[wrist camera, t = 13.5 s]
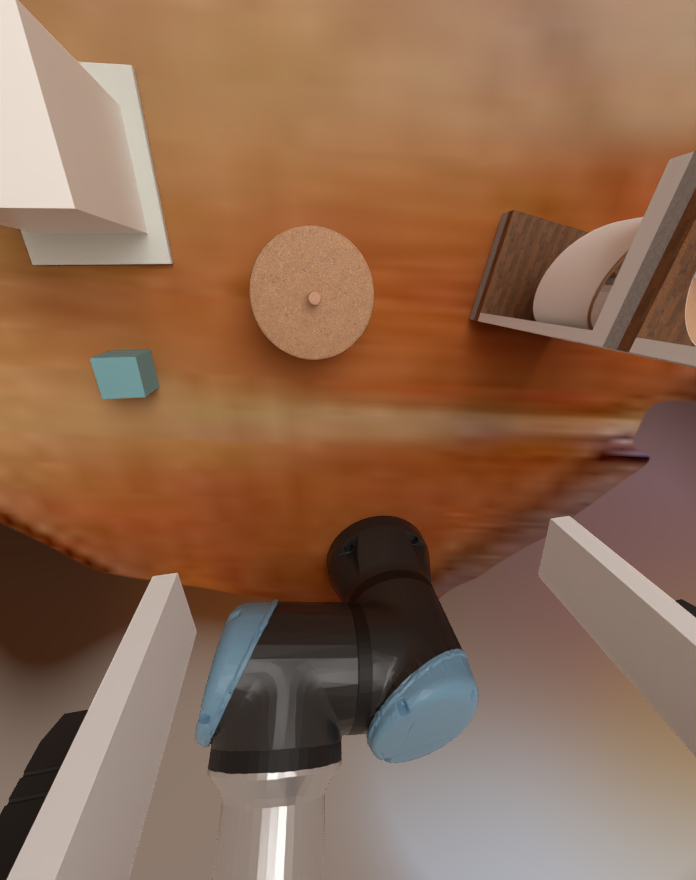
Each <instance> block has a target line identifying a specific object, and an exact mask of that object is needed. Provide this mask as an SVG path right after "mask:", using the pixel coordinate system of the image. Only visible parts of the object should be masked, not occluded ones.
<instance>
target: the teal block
mask: <svg viewBox="0 0 696 880" xmlns="http://www.w3.org/2000/svg"><path fill="white" fill-rule="evenodd" d="M90 360H91V364H92V367H93V370H94V373H95V377H96V380H97V383H98V386H99V390H100V393H101V396H102V399H115V398H139V397H147V396H148V395H149V394H150V393H152V392H153V391H154V390H155V389H157V388H158V387H159V384H158V379H157V375H156V371H155V367H154V362H153V358H152V354H151V350H117V351H107V352H105V353H102V354H99V355H97V356H94V357H91V358H90Z"/></svg>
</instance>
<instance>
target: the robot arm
mask: <svg viewBox="0 0 696 880" xmlns="http://www.w3.org/2000/svg"><path fill="white" fill-rule="evenodd" d="M327 565H328V573H329V578H330V581H331V584H332V586H333V588H334V589H335V591H336V593H337V595H338V596H339V598H340V600H341V601H342V602H281V601H279V599H275V600H274V601H266V602H246V603H242V604H240V605H238V606H237V607H236V608H235V609H234V610H233V611H232V612H231V613H230V615H229V617H228V619H227V621H226V623H225V626H224V629H223V632H222V635H221V638H220V640H219V643H218V646H217V650H216V653H215V656H214V659H213V663H212V666H211V670H210V673H209V677H208V681H207V684H206V688H205V692H204V696H203V700H202V704H201V711H200V715H199V720H198V723H197V727H196V733H195V740H196V742H197V743H198V744H200V745H202V746H203V747H208V746H209V745H210V744H211V752H210V759H209V765H208V776H209V777H210V779H211V780H212V782H213V783H214V785H215V786H216V788H217V789H218V791H219V792H220V795H221V799H222V807H221V815H220V823H219V831H218V838H217V846H216V855H215V862H214V870H213V877H212V880H324V810H325V807H324V806H325V802H324V800H325V790H326V787H327V785H328V784H329V782H330V781H331V779H332V778H333V776H334V775H335V773H336V772H337V770H338V769H339V768H340V766H341V763H342V759H341V738H342V735H355V734H367V743H368V745H369V747H370V748H371V750H372V752H373V754H374V755H375V756H376V757H377V758H378V759H380V760H383V759H384V760H385V761H386V762H389V763H399V762H406V761H410V760H414V759H417V758H420V757H423V756H425V755H428V754H430V753H432V752H434V751H436V750H437V749H439V748H441V747H443V746H444V745H446V744H447V743H449V742H450V741H452V739H454V738H455V737H457V736H458V735H459V734H460V733H461V732H462V731H463V730H464V729H465V728H466V726H467V725H468V724H469V722H470V721H471V719H472V718H473V716H474V714H475V712H476V709H477V706H478V697H479V694H478V688H477V684H476V682H475V679H474V676H473V674H472V671H471V668H470V666H469V663H468V658H467V655H466V653H465V652H464V650H462V648H461V646H460V644H459V642H458V639H457V637H456V635H455V633H454V631H453V629H452V627H451V625H450V623H449V621H448V618H447V616H446V614H445V612H444V610H443V608H442V606H441V604H440V601H439V599H438V597H437V595H436V593H435V591H434V589H433V587H432V584H431V575H430V560H429V552H428V548H427V545H426V543H425V541H424V539H423V537H422V535H421V534H420V532H419V531H418V530H417V528H416V527H415V526H413V525H412V524H411V523H409V522H407V521H405V520H403V519H400V518H396V517H390V516H378V517H372V518H368V519H364V520H361V521H359V522H357V523H355V524H353V525H351V526H350V527H348V528H347V529H345V530H344V531H343V532H342V533H341V534H340V535H339V536H338V537H337V538H336V539H335V541H334V542H333V544H332V545H331V548H330V550H329V553H328V558H327ZM538 576H539V577H540V579H541V580H542V581H543V582H544V583H545V584H546V585H547V586H548V588H549V589H550V590H551V591H552V592H553V593H554V595H555V596H556V597H557V598H558V599H559V600H560V602H561V603H562V604H563V605H564V606H565V607H566V608H567V610H568V611H569V612H570V613H571V614H572V615H573V616H574V618H575V619H576V620H577V621H578V622H579V623H580V624H581V626H582V627H583V628H584V629H585V630H586V631H587V633H588V634H589V635H590V636H591V637H592V638H593V639H594V640H595V642H596V643H597V644H598V645H599V646H600V647H601V649H602V650H603V651H604V652H605V653H606V654H607V655H608V657H609V658H610V659H611V660H612V661H613V662H614V664H615V665H616V666H617V667H618V668H619V669H620V670H621V672H622V673H623V674H624V675H625V676H626V677H627V679H628V680H629V681H630V682H631V683H632V684H633V685H634V687H636V689H637V690H638V691H639V692H640V693H641V695H642V696H643V697H644V698H645V699H646V700H647V701H648V703H649V704H650V705H651V706H652V707H653V708H654V709H655V711H656V712H657V713H658V714H659V715H660V716H661V718H662V719H663V720H664V721H665V722H666V723H667V724H668V726H669V727H670V728H671V729H672V730H673V731H674V732H675V734H676V735H677V736H678V737H679V738H680V739H681V740H682V742H683V743H684V744H685V745H686V746H687V747H688V749H689V750H690V751H691V752H692V753H693V754H694V755H695V757H696V607H695V606H693V605H691V604H690V603H688V602H686V601H684V600H682V599H681V600H675V601H674V600H673V599H672V598H671V597H669V596H668V595H667V594H666V593H664V592H663V591H662V590H661V589H660V588H658V587H657V586H656V585H654V584H653V583H652V582H651V581H649V580H648V579H647V578H646V577H645V576H643V575H642V574H641V573H640V572H638V571H637V570H636V569H635V568H633V567H632V566H631V565H630V564H628V563H627V562H626V561H625V560H624V559H622V558H621V557H620V556H619V555H617V554H616V553H615V552H614V551H612V550H611V549H610V548H609V547H607V546H606V545H605V544H604V543H602V542H601V541H600V540H599V539H597V538H596V537H595V536H594V535H592V534H591V533H590V532H589V531H587V530H586V529H585V528H584V527H582V526H581V525H580V524H579V523H577V522H576V521H575V520H574V519H573V518H571V517H570V516H565V517H559V518H552V519H550V523H549V527H548V532H547V536H546V541H545V546H544V551H543V555H542V559H541V564H540V568H539V573H538ZM196 633H197V631H196V628H195V625H194V622H193V618H192V616H191V612H190V609H189V606H188V603H187V600H186V597H185V594H184V591H183V588H182V584H181V581H180V578H179V575H178V573H172V574H166V575H159V576H153V577H152V579H151V581H150V583H149V585H148V587H147V590H146V591H145V593H144V596H143V598H142V600H141V602H140V604H139V606H138V608H137V610H136V612H135V615H134V616H133V619H132V621H131V623H130V625H129V627H128V629H127V631H126V633H125V635H124V637H123V639H122V641H121V643H120V645H119V647H118V650H117V652H116V654H115V656H114V658H113V660H112V662H111V664H110V666H109V668H108V671H107V673H106V674H105V676H104V679H103V681H102V683H101V685H100V687H99V689H98V691H97V693H96V695H95V697H94V699H93V701H92V703H91V706H90V708H89V710H84V711H78V712H73V713H68V714H64V715H63V716H62V717H61V719H60V720H59V721H58V722H57V723H56V724H55V725H54V727H53V728H52V729H51V730H50V731H49V732H48V734H47V735H46V736H45V737H44V738H43V739H42V740H41V742H40V744H39V745H38V747H37V749H36V751H35V753H34V755H33V756H32V758H31V760H30V762H29V763H28V765H27V767H26V769H25V771H24V775H23V777H22V778H21V779H20V780H19V781H18V783H17V785H16V787H15V789H14V791H13V792H12V794H11V796H10V798H9V803H8V804H7V806H5V807H4V808H3V810H2V812H1V814H0V880H129V877H130V874H131V870H132V867H133V863H134V859H135V856H136V852H137V849H138V845H139V841H140V837H141V834H142V830H143V827H144V823H145V819H146V816H147V812H148V808H149V804H150V801H151V797H152V794H153V790H154V786H155V783H156V779H157V775H158V772H159V768H160V765H161V761H162V757H163V754H164V750H165V746H166V742H167V739H168V735H169V732H170V728H171V724H172V720H173V717H174V714H175V710H176V706H177V703H178V698H179V695H180V691H181V688H182V684H183V681H184V677H185V673H186V670H187V666H188V662H189V659H190V655H191V652H192V648H193V644H194V641H195V637H196Z"/></svg>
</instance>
